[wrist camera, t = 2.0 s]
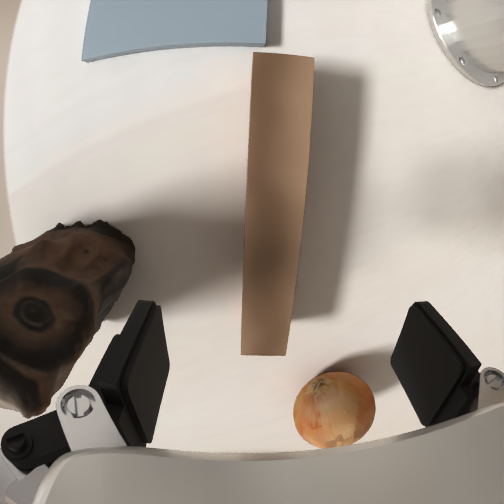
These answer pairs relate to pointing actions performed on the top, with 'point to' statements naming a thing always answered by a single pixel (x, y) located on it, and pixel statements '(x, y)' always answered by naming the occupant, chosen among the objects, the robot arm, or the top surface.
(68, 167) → the top surface
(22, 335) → the owl
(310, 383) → the onion
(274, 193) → the walnut bar
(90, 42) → the balance stand
